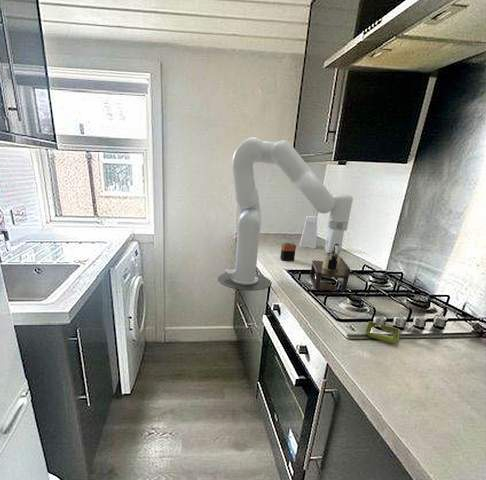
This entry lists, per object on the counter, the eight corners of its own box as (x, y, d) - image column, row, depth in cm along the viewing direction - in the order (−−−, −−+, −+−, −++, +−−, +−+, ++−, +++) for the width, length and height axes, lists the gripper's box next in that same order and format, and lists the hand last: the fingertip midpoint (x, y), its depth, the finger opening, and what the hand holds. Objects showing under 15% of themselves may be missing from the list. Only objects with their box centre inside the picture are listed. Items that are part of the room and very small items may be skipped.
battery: (279, 258, 171) (282, 241, 168) (291, 259, 172) (293, 241, 169) (282, 260, 167) (284, 243, 164) (294, 261, 168) (296, 243, 165)
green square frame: (367, 326, 97) (368, 320, 97) (398, 334, 93) (400, 328, 92) (363, 337, 90) (365, 331, 90) (396, 347, 86) (398, 340, 85)
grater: (299, 243, 213) (303, 215, 207) (315, 245, 211) (320, 216, 204) (299, 246, 204) (304, 217, 197) (316, 248, 201) (321, 218, 195)
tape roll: (323, 269, 128) (325, 256, 126) (321, 265, 134) (323, 253, 132) (339, 271, 126) (341, 258, 125) (336, 267, 132) (338, 254, 131)
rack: (314, 291, 125) (318, 265, 122) (309, 276, 144) (313, 254, 140) (345, 294, 123) (350, 269, 120) (336, 279, 142) (340, 256, 138)
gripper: (325, 221, 133) (318, 260, 139) (331, 228, 117) (323, 271, 122) (343, 223, 131) (335, 262, 137) (352, 229, 115) (343, 273, 121)
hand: (330, 266), depth 130 cm, fingers open, 7 cm apart
